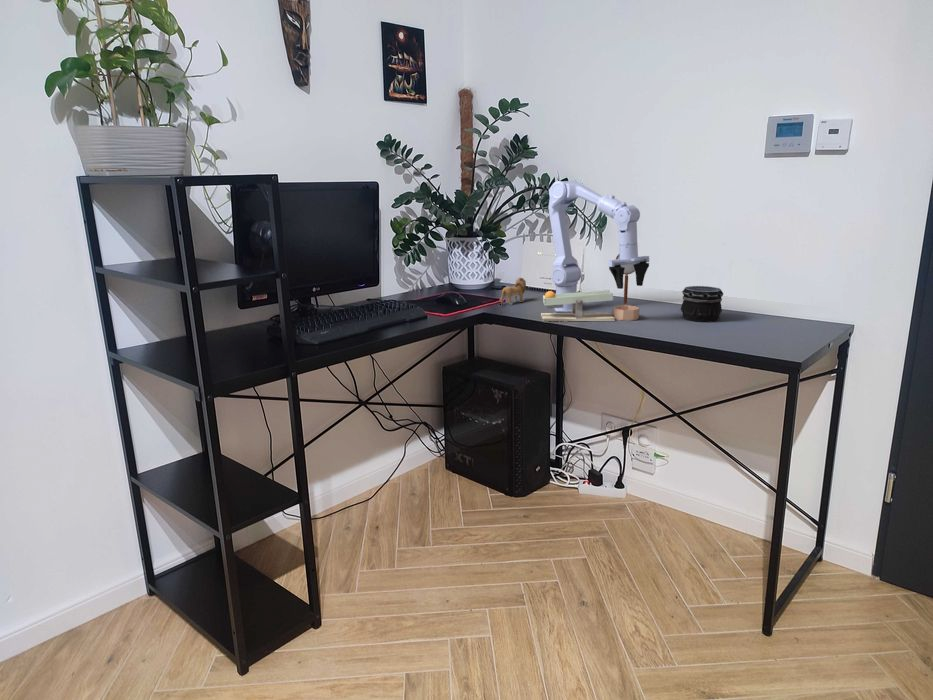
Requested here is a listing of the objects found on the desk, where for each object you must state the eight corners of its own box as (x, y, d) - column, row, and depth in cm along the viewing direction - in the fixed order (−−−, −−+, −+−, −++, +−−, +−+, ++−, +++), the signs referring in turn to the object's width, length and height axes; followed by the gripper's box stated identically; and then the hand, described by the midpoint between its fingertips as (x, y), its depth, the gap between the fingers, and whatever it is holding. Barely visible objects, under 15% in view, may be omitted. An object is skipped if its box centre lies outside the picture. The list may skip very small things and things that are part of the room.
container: (716, 314, 222) (719, 285, 219) (725, 323, 210) (727, 292, 207) (677, 314, 224) (679, 284, 221) (683, 322, 211) (685, 291, 209)
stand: (540, 315, 225) (541, 294, 223) (609, 314, 224) (609, 293, 222) (543, 322, 214) (543, 300, 213) (615, 321, 214) (615, 299, 212)
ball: (545, 301, 220) (543, 291, 219) (556, 299, 220) (553, 288, 219) (546, 303, 216) (544, 293, 216) (557, 301, 216) (554, 290, 215)
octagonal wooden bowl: (611, 315, 223) (611, 305, 222) (635, 315, 223) (635, 305, 222) (615, 320, 215) (616, 310, 214) (640, 320, 215) (641, 310, 214)
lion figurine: (517, 299, 254) (517, 276, 252) (529, 301, 251) (529, 277, 248) (495, 306, 243) (495, 281, 240) (507, 307, 239) (507, 283, 237)
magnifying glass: (614, 306, 237) (616, 250, 232) (612, 305, 239) (614, 250, 234) (637, 306, 238) (640, 250, 233) (636, 305, 240) (639, 249, 234)
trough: (542, 302, 227) (541, 292, 226) (608, 296, 226) (608, 286, 225) (545, 309, 216) (544, 298, 215) (615, 303, 214) (615, 293, 214)
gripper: (616, 246, 204) (618, 290, 207) (654, 242, 210) (656, 285, 212) (603, 246, 211) (605, 289, 213) (640, 242, 216) (642, 283, 219)
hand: (629, 287), depth 213 cm, fingers open, 7 cm apart
